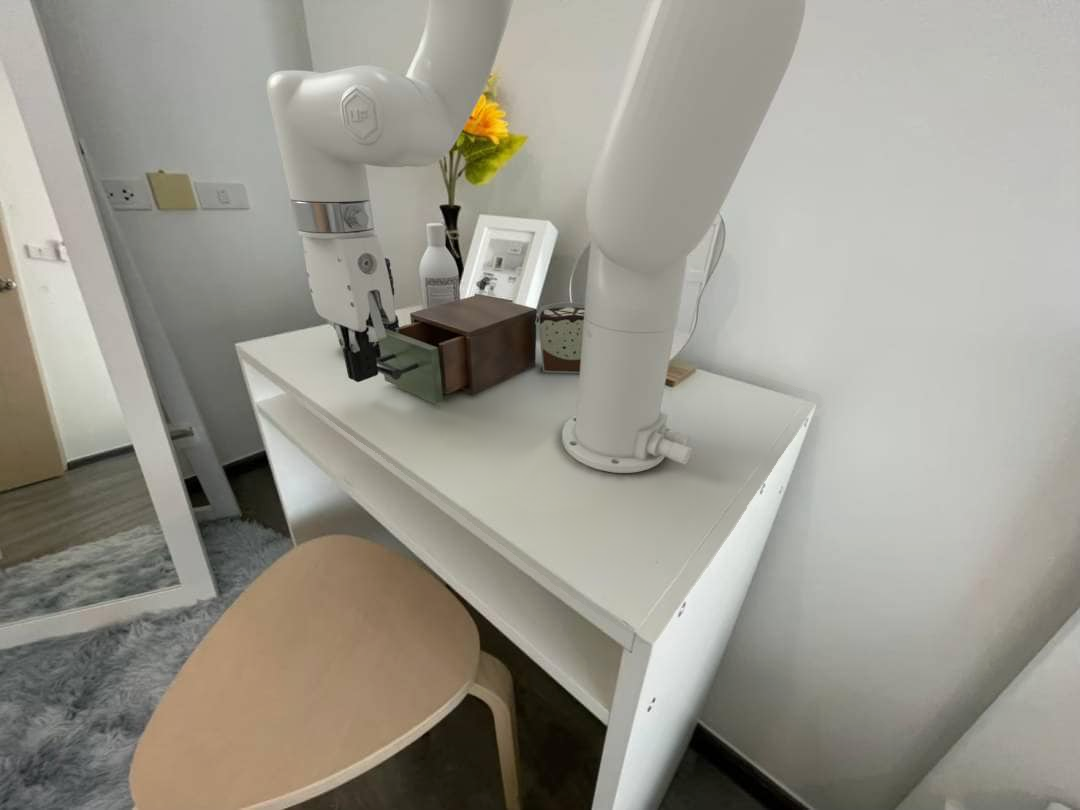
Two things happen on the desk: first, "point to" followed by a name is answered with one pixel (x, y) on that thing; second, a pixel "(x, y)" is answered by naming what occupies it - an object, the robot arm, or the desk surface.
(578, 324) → the food container
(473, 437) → the desk surface
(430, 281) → the bath foam
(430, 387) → the drawer
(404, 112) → the robot arm
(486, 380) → the cabinet
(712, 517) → the desk surface
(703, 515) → the desk surface
